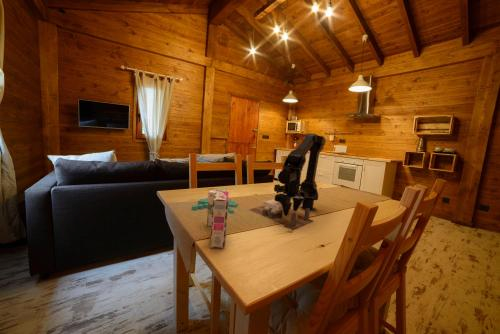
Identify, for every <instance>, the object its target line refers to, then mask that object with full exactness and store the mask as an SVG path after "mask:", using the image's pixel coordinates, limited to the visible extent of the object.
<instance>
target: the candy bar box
mask: <svg viewBox="0 0 500 334" xmlns="http://www.w3.org/2000/svg"><path fill="white" fill-rule="evenodd" d="M228 199H229V191H227V192H218V191H216V193H215V196H214V199H213V214H212V227H210V228H211V230H210V231H211V232H210V242H209V243H210V244H209V245H210V246H209V248H210V249H211V248H212V249H225V248H226V247H225V244H226V235H227V224H228V214H229V211H228Z"/></svg>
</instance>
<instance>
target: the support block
mask: <svg viewBox="0 0 500 334" xmlns="http://www.w3.org/2000/svg"><path fill="white" fill-rule="evenodd" d="M292 213H297V216H296V220H297V217H298V215H299V211H298V210H297V211H294V210H293V209H290V210H289V212H288V215H287V216H285V215H284V211H283V214H282V218H283V219H285V220H288V221H291V215H292Z"/></svg>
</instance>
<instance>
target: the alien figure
mask: <svg viewBox="0 0 500 334" xmlns="http://www.w3.org/2000/svg"><path fill="white" fill-rule="evenodd" d="M238 205H239V202H235V201H234V200H232V199H230V198H228V214H234V213H235V209H232V208H237V207H238ZM204 209H207V210H208V197H205V198H200V199H199V200H198V202H197V205H196V204H193V205H192V206H191V211H198V210H200V211H201V210H202V211H203V210H204Z"/></svg>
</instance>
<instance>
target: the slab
mask: <svg viewBox="0 0 500 334" xmlns="http://www.w3.org/2000/svg"><path fill="white" fill-rule="evenodd" d="M274 199H275V198H273V199H269V200H264V201H263V206H266V207H269V208H272V209H274V210H277V211H280V210H283V207H282V204H281V203H280V202H278V201H275V200H274Z"/></svg>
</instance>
